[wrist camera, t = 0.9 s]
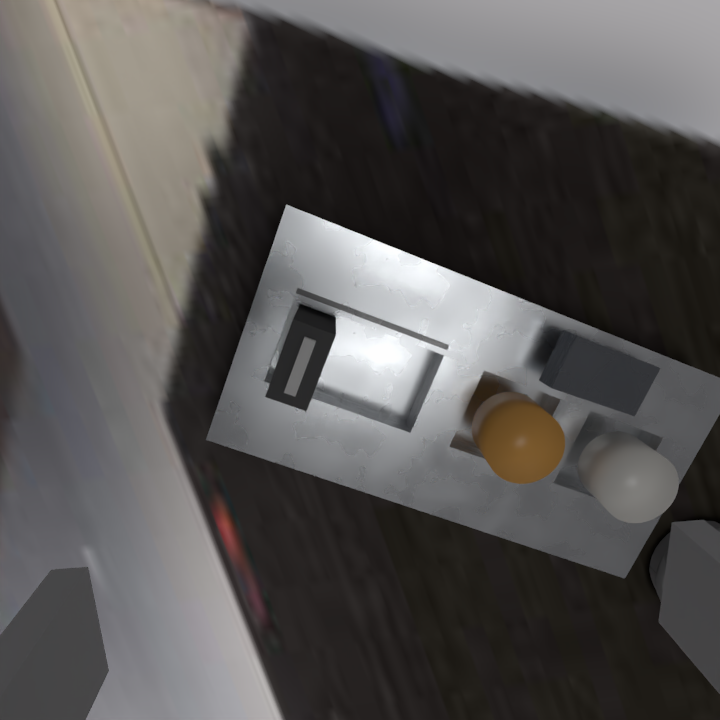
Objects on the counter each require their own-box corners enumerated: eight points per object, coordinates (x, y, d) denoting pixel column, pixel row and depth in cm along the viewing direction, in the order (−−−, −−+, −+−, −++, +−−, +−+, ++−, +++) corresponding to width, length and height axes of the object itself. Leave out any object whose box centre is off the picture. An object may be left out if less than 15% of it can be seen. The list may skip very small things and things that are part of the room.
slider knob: (276, 369, 31) (264, 398, 26) (300, 303, 30) (292, 320, 25) (311, 381, 31) (306, 412, 26) (336, 317, 30) (335, 335, 25)
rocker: (538, 380, 28) (551, 388, 27) (563, 329, 28) (576, 335, 27) (619, 407, 30) (634, 416, 29) (644, 361, 30) (660, 368, 29)
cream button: (565, 483, 31) (588, 509, 28) (597, 421, 30) (625, 442, 27) (626, 504, 32) (655, 532, 29) (659, 444, 31) (692, 467, 28)
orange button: (459, 446, 30) (473, 469, 27) (489, 381, 29) (506, 398, 26) (523, 468, 31) (543, 493, 28) (555, 405, 30) (578, 424, 27)
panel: (220, 415, 34) (203, 443, 29) (292, 207, 31) (285, 204, 26) (595, 542, 38) (629, 584, 33) (691, 367, 35) (744, 387, 30)
